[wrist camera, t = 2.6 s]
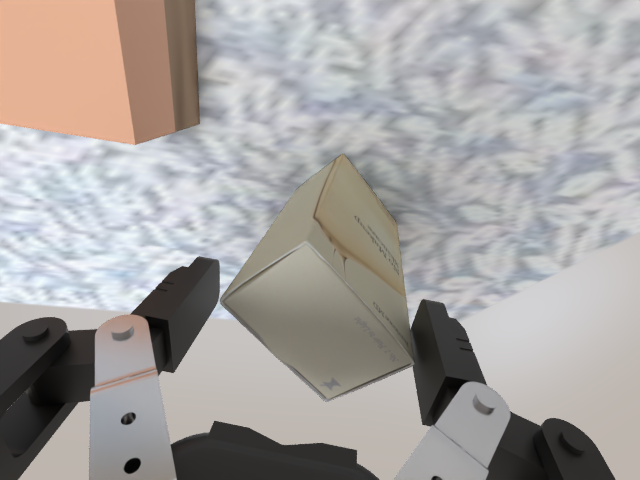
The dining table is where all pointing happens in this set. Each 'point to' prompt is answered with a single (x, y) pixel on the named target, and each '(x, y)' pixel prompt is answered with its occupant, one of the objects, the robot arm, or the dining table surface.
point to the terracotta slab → (86, 68)
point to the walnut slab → (183, 61)
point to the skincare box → (328, 286)
